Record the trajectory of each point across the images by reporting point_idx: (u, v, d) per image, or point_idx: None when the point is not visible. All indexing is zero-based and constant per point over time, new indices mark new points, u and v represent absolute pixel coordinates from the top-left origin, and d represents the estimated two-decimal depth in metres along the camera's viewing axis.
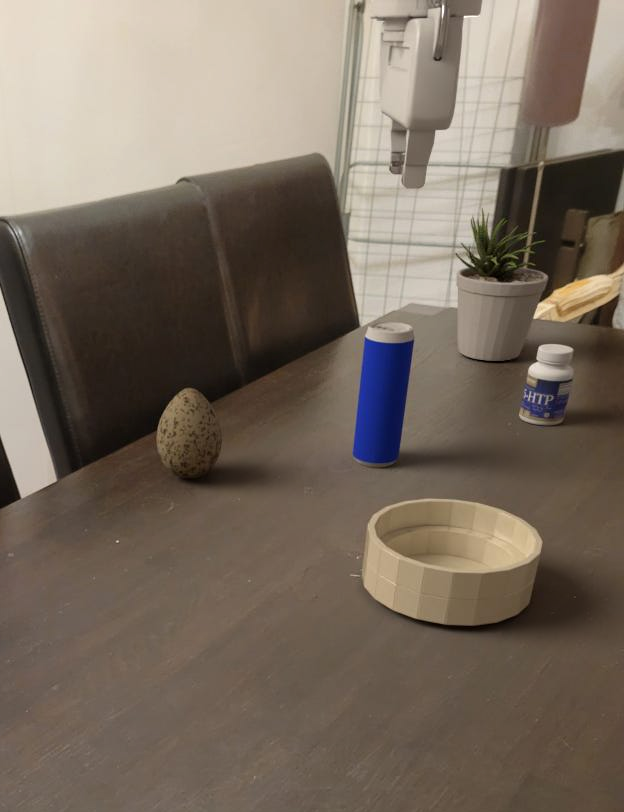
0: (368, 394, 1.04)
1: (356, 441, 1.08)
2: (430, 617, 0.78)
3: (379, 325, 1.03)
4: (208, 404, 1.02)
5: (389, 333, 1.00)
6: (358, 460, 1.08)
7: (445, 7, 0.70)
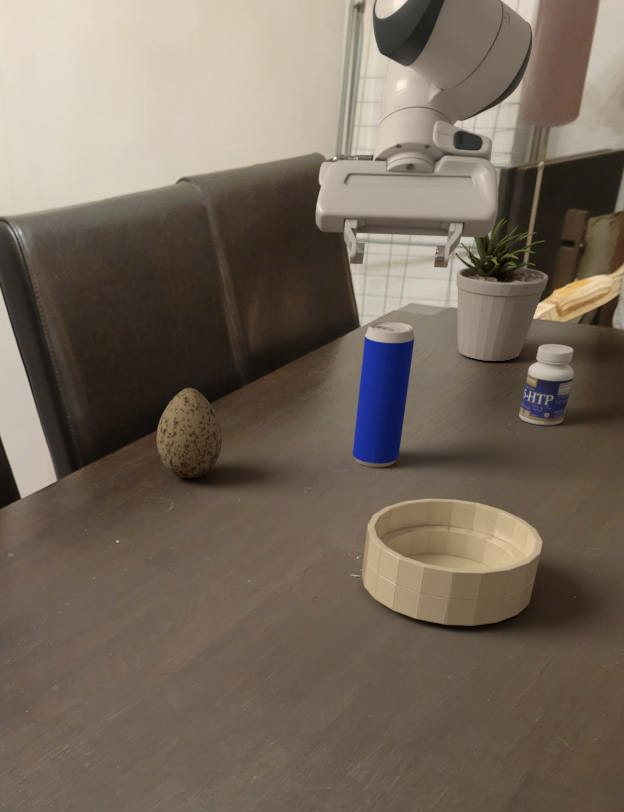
0: (368, 394, 1.04)
1: (356, 441, 1.08)
2: (430, 617, 0.78)
3: (379, 325, 1.03)
4: (208, 404, 1.02)
5: (389, 333, 1.00)
6: (358, 460, 1.08)
7: None
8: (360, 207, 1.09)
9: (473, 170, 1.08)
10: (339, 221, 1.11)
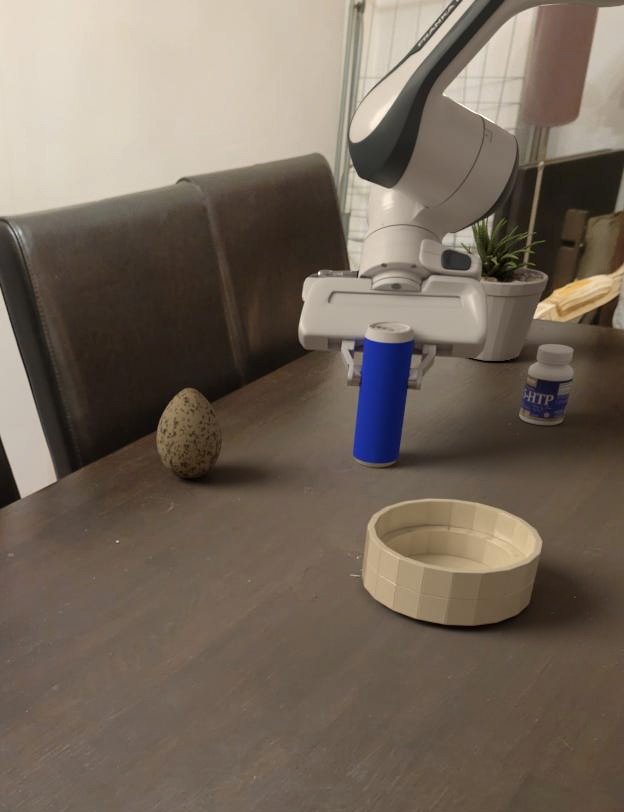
0: (368, 394, 1.04)
1: (356, 441, 1.08)
2: (430, 617, 0.78)
3: (379, 325, 1.03)
4: (208, 404, 1.02)
5: (389, 333, 1.00)
6: (358, 460, 1.08)
7: (306, 278, 1.09)
8: (344, 328, 1.05)
9: (462, 290, 1.03)
10: (322, 341, 1.06)
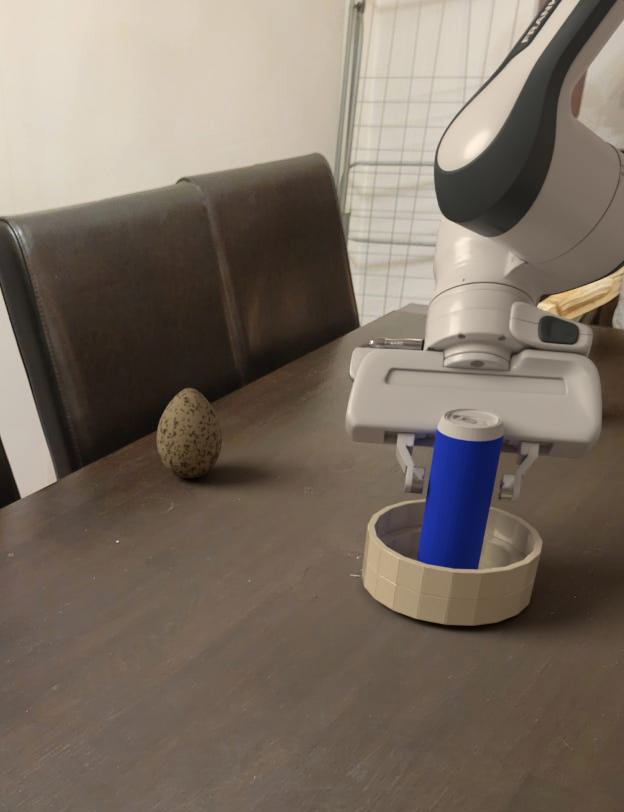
0: (440, 504, 0.78)
1: (420, 561, 0.82)
2: (430, 617, 0.78)
3: (455, 414, 0.77)
4: (208, 404, 1.02)
5: (472, 428, 0.74)
6: None
7: (354, 349, 0.84)
8: (407, 418, 0.79)
9: (566, 370, 0.77)
10: (378, 433, 0.81)
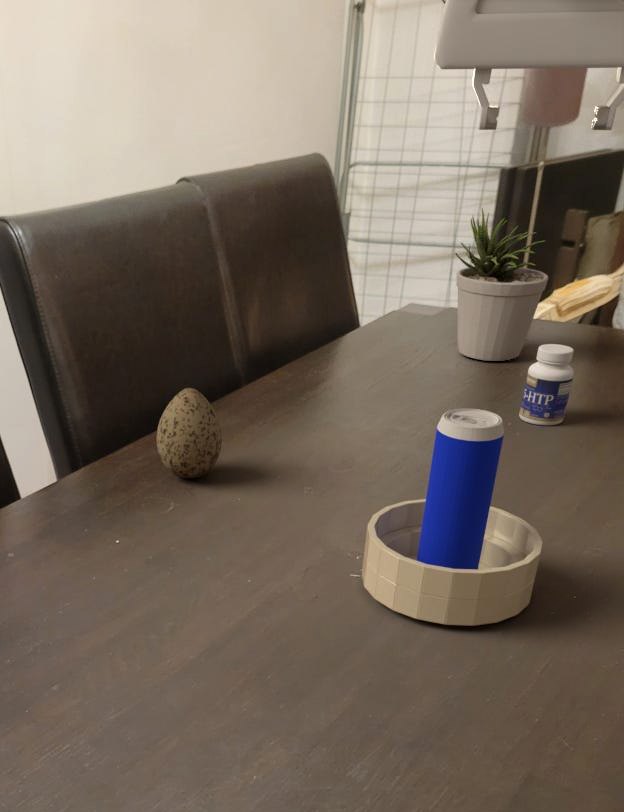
0: (440, 504, 0.78)
1: (420, 561, 0.82)
2: (430, 617, 0.78)
3: (455, 414, 0.77)
4: (208, 404, 1.02)
5: (472, 428, 0.74)
6: None
7: None
8: (496, 55, 0.80)
9: None
10: None
